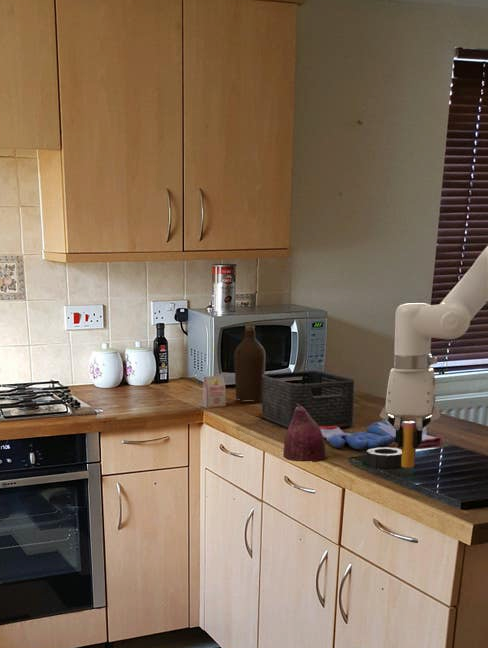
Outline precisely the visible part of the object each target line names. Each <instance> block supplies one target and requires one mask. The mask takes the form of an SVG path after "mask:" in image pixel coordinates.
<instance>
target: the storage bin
mask: <svg viewBox="0 0 488 648" xmlns="http://www.w3.org/2000/svg"><path fill="white" fill-rule="evenodd" d="M288 378H301V381H300V382H299V383H290V382H287V381H284V380H281V379H288ZM354 397H355V379H354V378H352V377H347V376H342V375H338V374H335V373H331V372H325V371H321V370H304V371H303V370H302V371H289V372H274V373H265V374H264V375H262V402H261V404H262V405H261V406H262V407H261V412H262V413H261V418H263V419H264V420H267V421H269V422H272V423H275V424H277V425H279V426H282V427H284V428H286V429H288V428H289V426H290V423H291V421H292V418H293V416H294V411H295V408H296V407H297V404H298V405H300V406H302V407H303V408H304V409H305V410H306V411H307V413H308V414H309V415H310V417H311V418H312V419H313V420H314V421H315V422H316V423H317V425H318V426H319V427H321V426H322V427H332V426H337V427H339V428H346V427H351V426H353V425H354V408H355V407H354V406H355V405H354V403H355V402H354V400H355V398H354Z"/></svg>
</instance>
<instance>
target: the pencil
mask: <svg viewBox="0 0 488 648" xmlns="http://www.w3.org/2000/svg"><path fill="white" fill-rule="evenodd" d="M402 423H403V432H402V447H401V449H402V458H401V467H400V468H405V469H412V468H414V467H415V458H416V457H415V455H416V448H414V431H415V430H416V425H417V422H416V421H414V420H405V421H402Z"/></svg>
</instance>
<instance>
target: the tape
mask: <svg viewBox="0 0 488 648" xmlns="http://www.w3.org/2000/svg"><path fill="white" fill-rule="evenodd" d="M365 452H366V453H365V454H366V455H365V464H366V466H369V467H373V468H378V469H397V468H402V467H401V458H402V448H398V447H388V446H386V447H378V448H372V449H366V451H365Z"/></svg>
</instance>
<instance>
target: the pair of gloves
mask: <svg viewBox="0 0 488 648" xmlns="http://www.w3.org/2000/svg"><path fill="white" fill-rule="evenodd" d="M402 426H403V422H402ZM416 427H417V424H416ZM319 428H320V430H321V432H322V435H323V438H325V439H326V441H327V442H328V443H329V444H330V445H331V446H332V447H334V448H335V449H341V448H343V447H344V446H345V445H346V443H347V444H348V446H350V448H351V449H354V450H358V451H363V450H368V449H372V448H382V447H388V446H389V445H391V444H392V443H394V441H395V438H396V430H395V429H394V427H393V426H392V425H391V424H390V423H389V422H388V421H387V420H385V419H383V420H380V421H377V422H376V421H375V422H373V423H371V424H370V426H367V428H366V429H365V431H366V432H363V431H361V432H355V433H349V432H344V431H343V430H342V429H341V427H337V426H332V427H322V426H321V427H319ZM427 433H428V432H427V426H425V427H424V428H423V430H422V444H419V447H428V446H436V445H440V444H441V442H442V438H441V437H440V436H436V437H435V436H432V435H428V434H427Z"/></svg>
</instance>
